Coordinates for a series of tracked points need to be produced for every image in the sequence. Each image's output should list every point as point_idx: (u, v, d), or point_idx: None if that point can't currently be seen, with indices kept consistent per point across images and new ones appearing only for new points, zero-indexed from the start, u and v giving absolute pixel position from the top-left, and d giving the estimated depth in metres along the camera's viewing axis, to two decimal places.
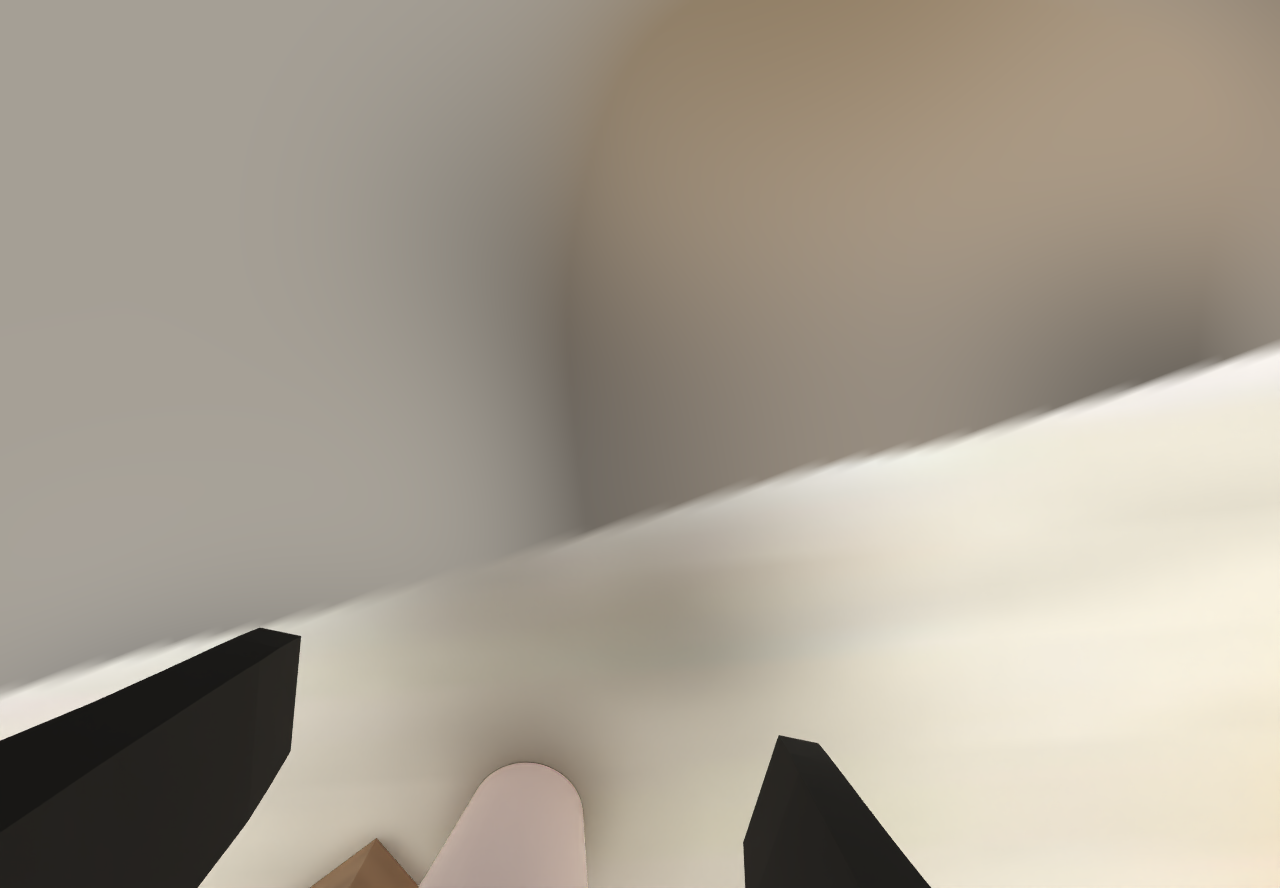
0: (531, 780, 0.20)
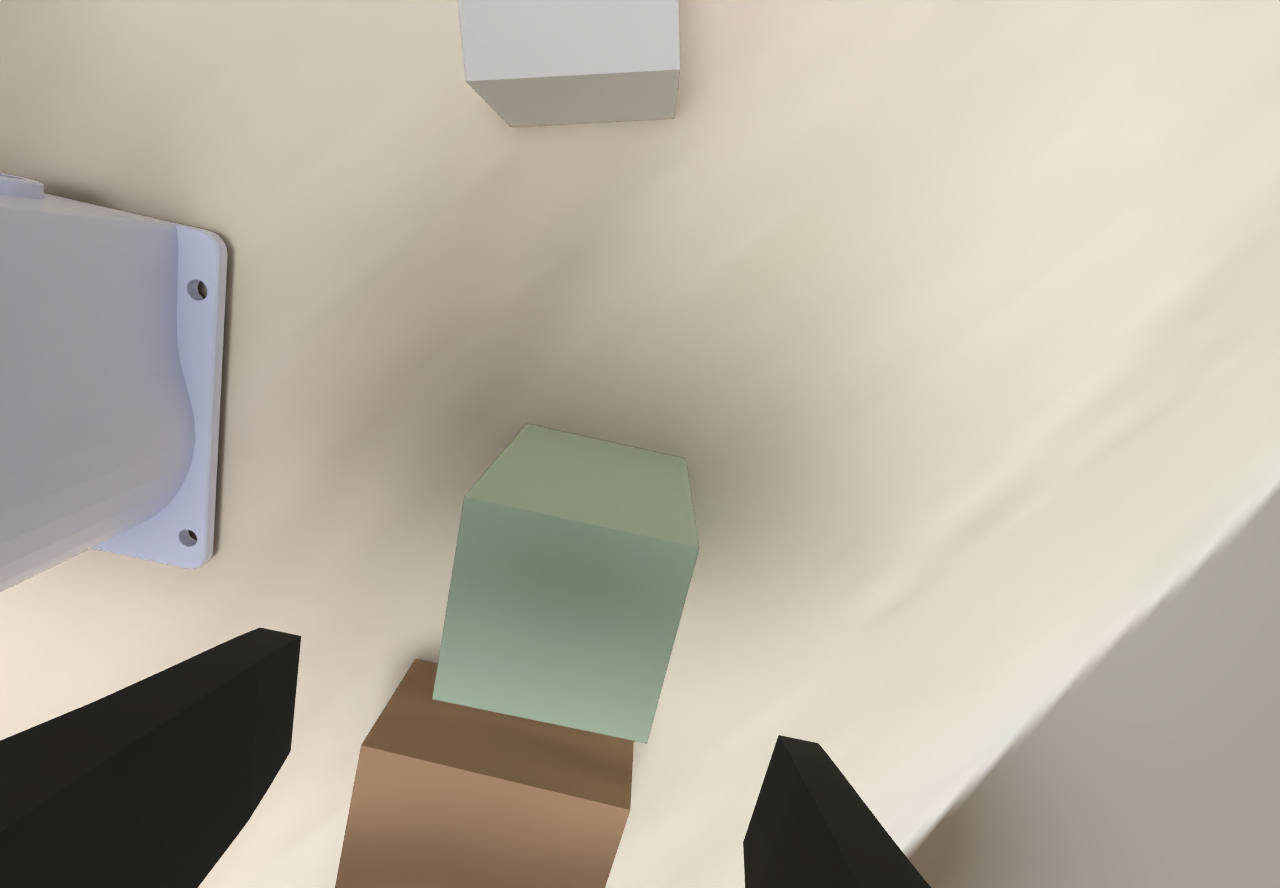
0: None
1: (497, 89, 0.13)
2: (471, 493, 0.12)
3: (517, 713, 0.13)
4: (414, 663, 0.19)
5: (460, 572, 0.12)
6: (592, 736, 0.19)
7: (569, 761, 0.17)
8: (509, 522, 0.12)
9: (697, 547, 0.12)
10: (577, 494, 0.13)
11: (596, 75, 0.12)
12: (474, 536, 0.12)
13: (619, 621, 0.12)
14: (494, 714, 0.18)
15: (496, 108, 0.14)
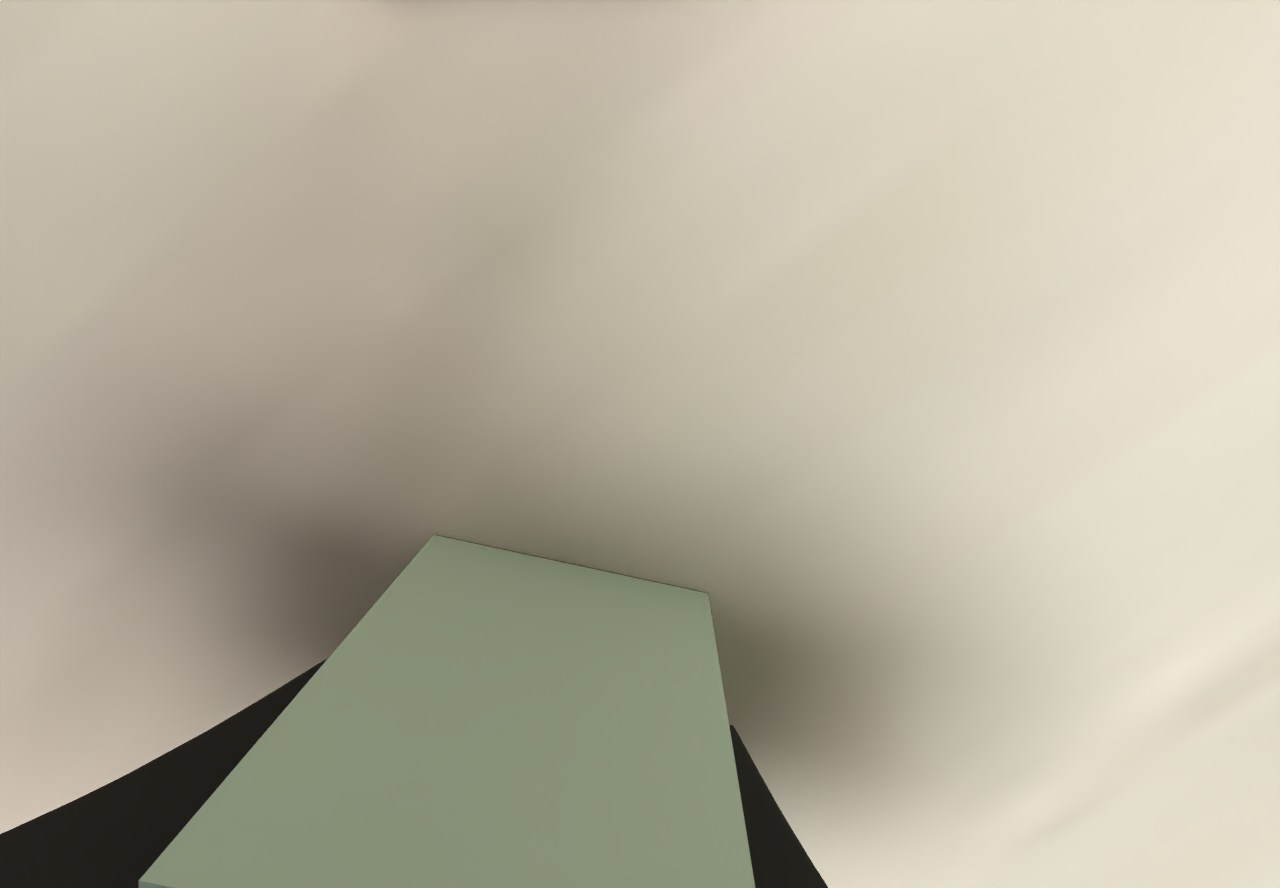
0: None
1: None
2: (173, 853, 0.05)
3: None
4: None
5: None
6: None
7: None
8: None
9: None
10: (478, 782, 0.06)
11: None
12: None
13: None
14: None
15: None
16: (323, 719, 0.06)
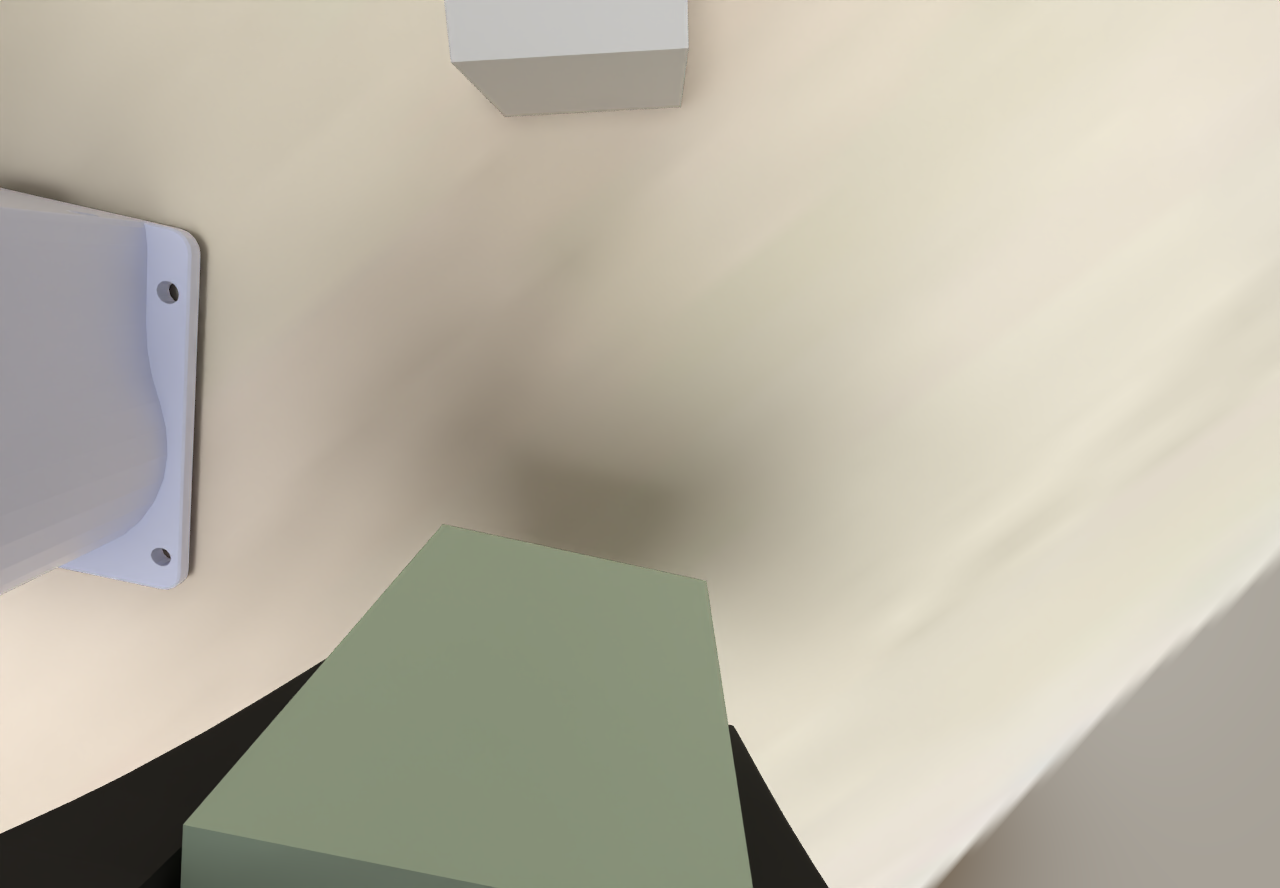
0: None
1: (486, 71, 0.11)
2: (212, 802, 0.05)
3: None
4: None
5: None
6: None
7: None
8: (297, 879, 0.05)
9: None
10: (489, 744, 0.06)
11: (595, 55, 0.11)
12: None
13: None
14: None
15: (487, 94, 0.13)
16: (344, 689, 0.07)
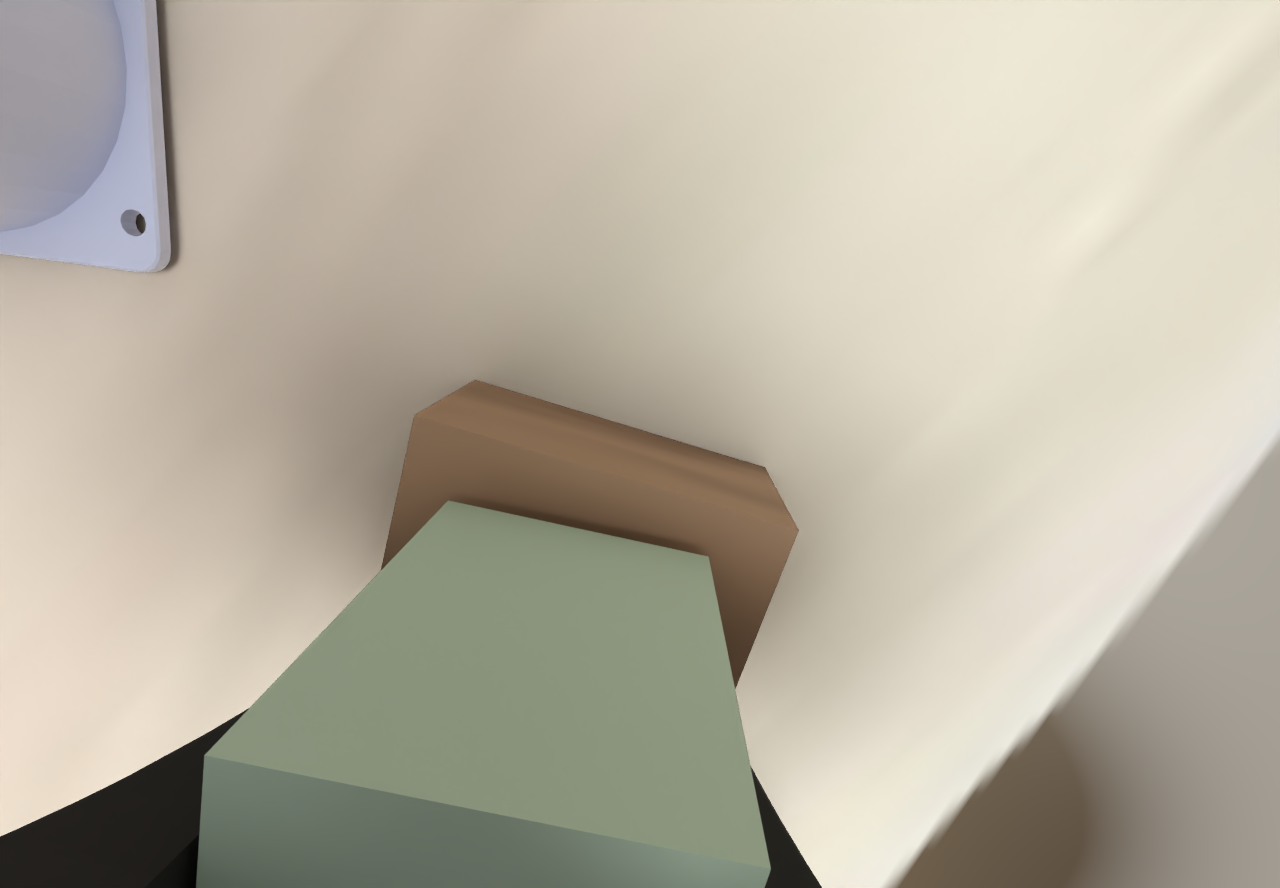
0: None
1: None
2: (232, 736, 0.05)
3: None
4: (474, 382, 0.14)
5: None
6: (720, 471, 0.13)
7: (699, 481, 0.12)
8: (317, 812, 0.05)
9: (767, 869, 0.05)
10: (499, 693, 0.06)
11: None
12: (237, 840, 0.05)
13: None
14: (588, 432, 0.13)
15: None
16: (357, 642, 0.07)
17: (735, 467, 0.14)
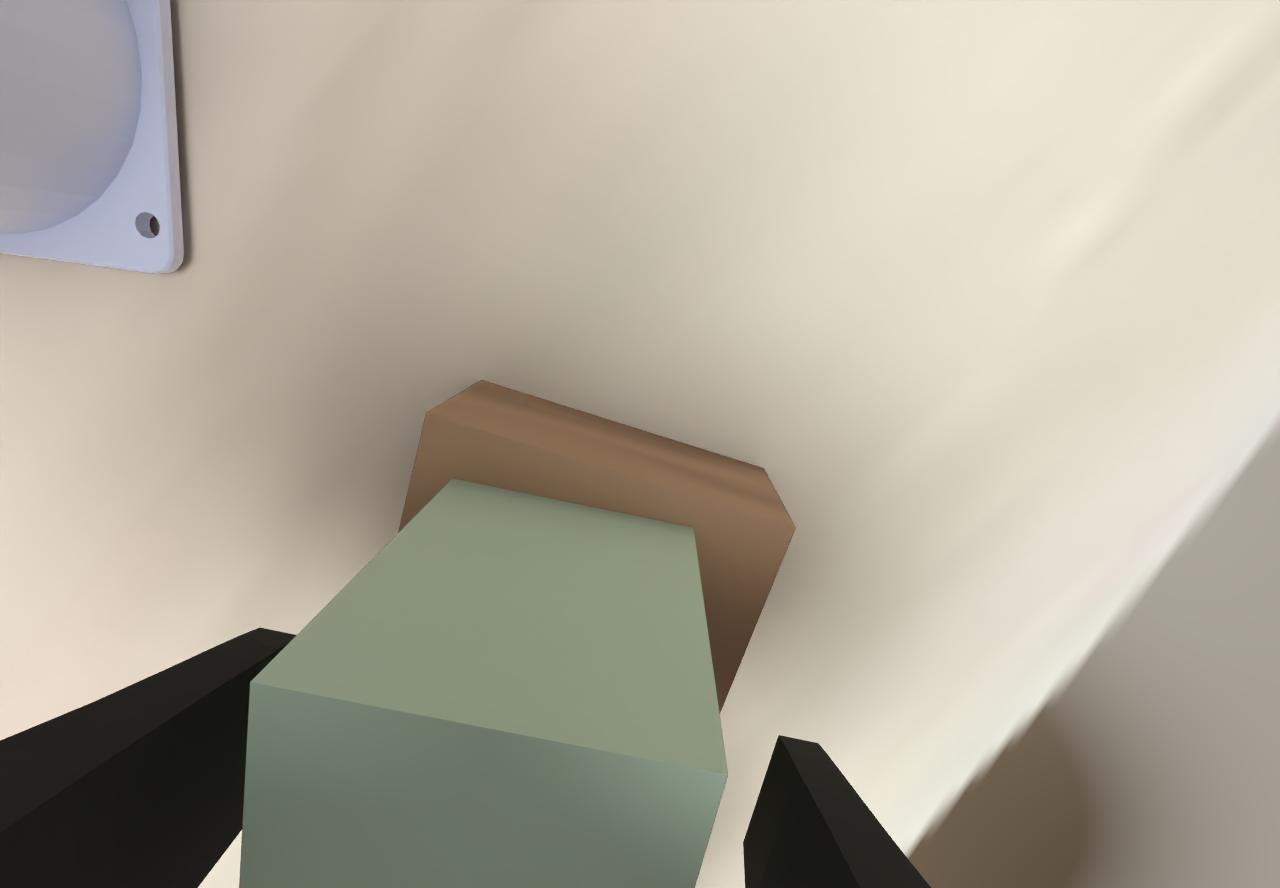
0: None
1: None
2: (272, 668, 0.06)
3: None
4: (481, 381, 0.15)
5: (259, 818, 0.06)
6: (720, 470, 0.14)
7: (700, 480, 0.13)
8: (344, 729, 0.06)
9: (726, 774, 0.06)
10: (499, 638, 0.07)
11: None
12: (277, 755, 0.06)
13: None
14: (592, 432, 0.14)
15: None
16: (374, 596, 0.08)
17: (734, 467, 0.15)
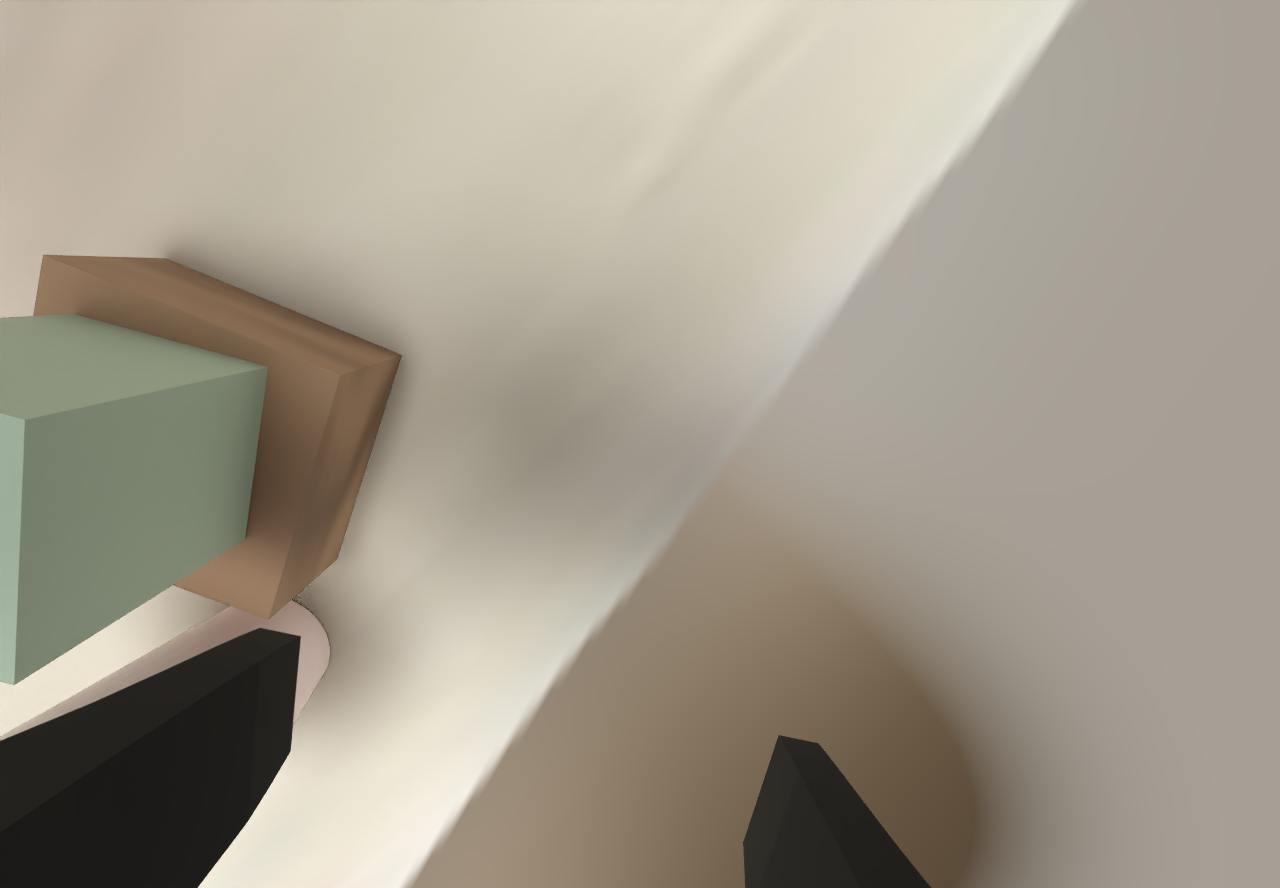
0: None
1: None
2: None
3: None
4: (161, 259, 0.18)
5: None
6: (336, 344, 0.17)
7: (293, 340, 0.16)
8: None
9: (23, 420, 0.09)
10: None
11: None
12: None
13: None
14: (229, 301, 0.17)
15: None
16: None
17: (363, 347, 0.18)
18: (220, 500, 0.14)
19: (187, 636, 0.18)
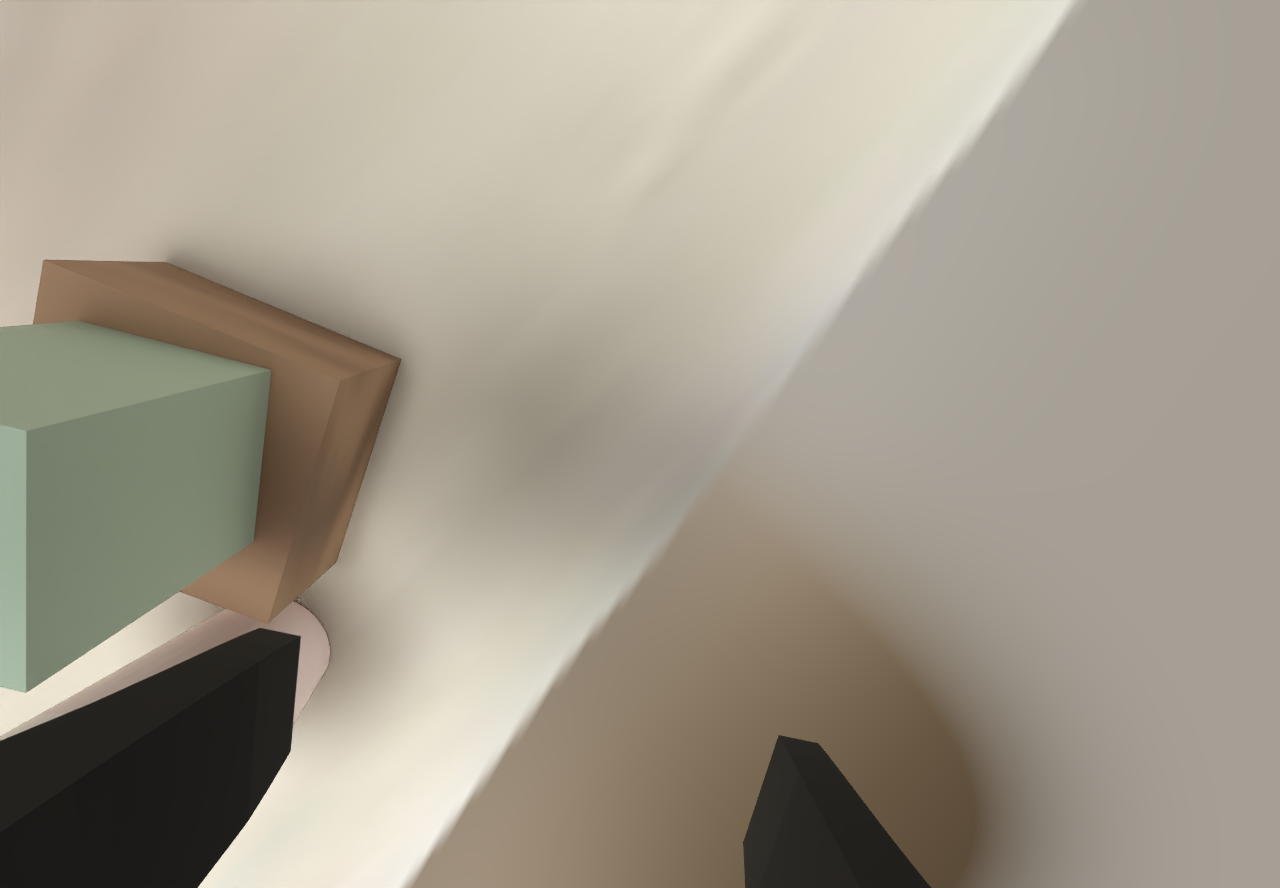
0: None
1: None
2: None
3: None
4: (161, 262, 0.18)
5: None
6: (336, 348, 0.17)
7: (293, 345, 0.16)
8: None
9: (24, 431, 0.09)
10: None
11: None
12: None
13: None
14: (229, 305, 0.17)
15: None
16: None
17: (363, 351, 0.18)
18: (227, 504, 0.15)
19: (187, 636, 0.18)
